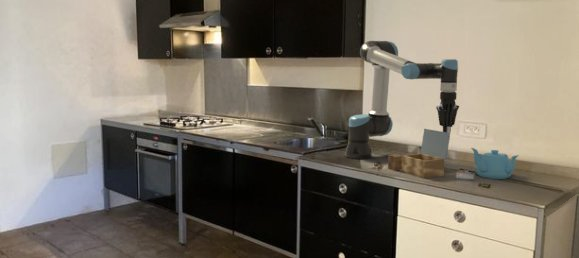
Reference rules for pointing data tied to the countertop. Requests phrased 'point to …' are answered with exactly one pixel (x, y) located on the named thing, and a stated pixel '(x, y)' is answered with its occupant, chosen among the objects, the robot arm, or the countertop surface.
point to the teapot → (494, 165)
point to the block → (394, 162)
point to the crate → (422, 165)
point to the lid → (435, 143)
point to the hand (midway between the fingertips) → (446, 139)
